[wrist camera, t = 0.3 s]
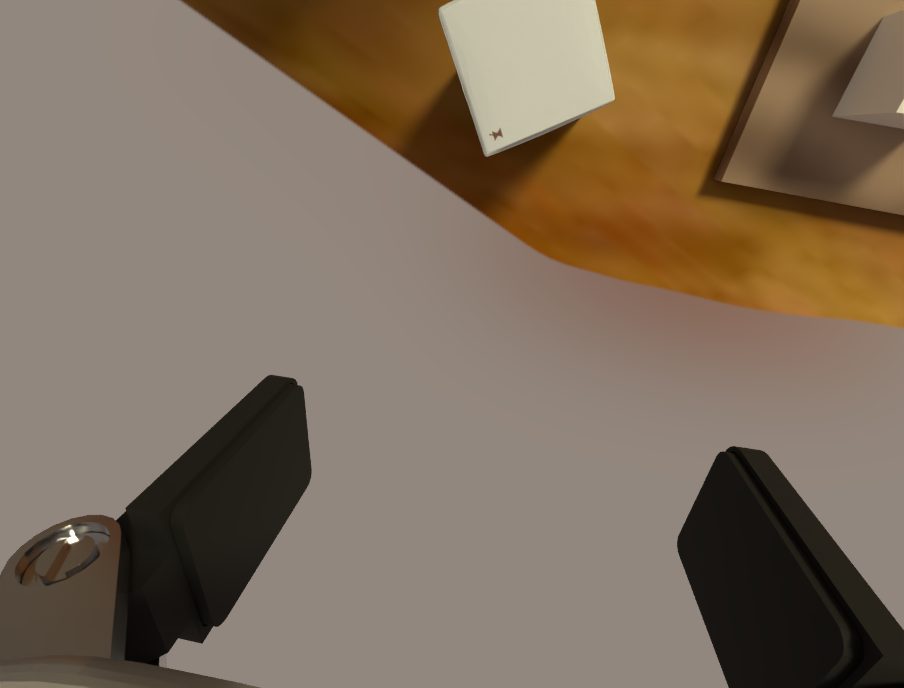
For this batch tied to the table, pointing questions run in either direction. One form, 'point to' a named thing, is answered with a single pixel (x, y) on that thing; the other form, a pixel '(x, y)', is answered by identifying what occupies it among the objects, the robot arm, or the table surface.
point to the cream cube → (878, 79)
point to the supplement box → (527, 65)
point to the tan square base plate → (817, 113)
